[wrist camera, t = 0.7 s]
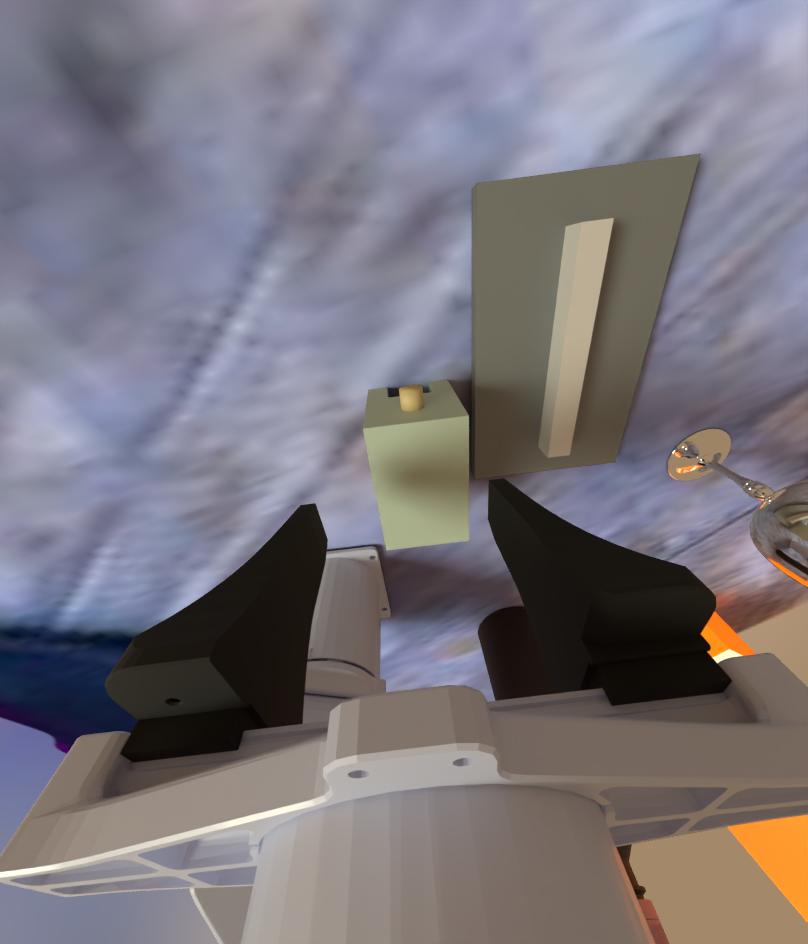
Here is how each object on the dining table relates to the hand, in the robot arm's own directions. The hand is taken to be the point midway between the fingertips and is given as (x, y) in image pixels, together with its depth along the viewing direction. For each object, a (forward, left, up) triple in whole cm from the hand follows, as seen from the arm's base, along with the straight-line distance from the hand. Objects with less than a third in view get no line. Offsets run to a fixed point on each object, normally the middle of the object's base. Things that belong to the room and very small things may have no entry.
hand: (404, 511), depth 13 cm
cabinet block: (-2, -1, -10) cm, 10 cm away
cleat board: (+3, -10, -9) cm, 14 cm away
